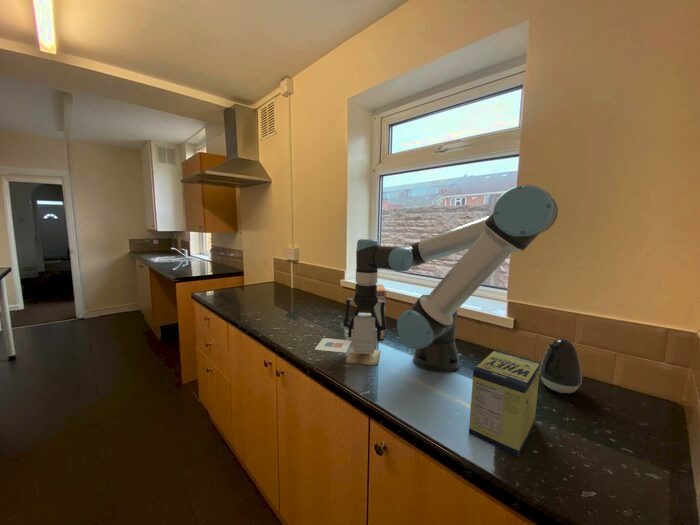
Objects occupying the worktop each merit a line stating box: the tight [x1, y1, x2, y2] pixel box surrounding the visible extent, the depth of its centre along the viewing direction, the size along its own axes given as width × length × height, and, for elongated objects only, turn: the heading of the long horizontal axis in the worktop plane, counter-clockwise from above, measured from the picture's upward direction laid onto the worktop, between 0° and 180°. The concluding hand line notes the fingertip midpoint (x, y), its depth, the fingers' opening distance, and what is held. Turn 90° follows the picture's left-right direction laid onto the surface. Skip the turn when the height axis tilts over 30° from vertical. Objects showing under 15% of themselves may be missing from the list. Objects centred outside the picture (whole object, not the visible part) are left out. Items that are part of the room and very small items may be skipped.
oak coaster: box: [345, 347, 382, 366], centre depth 107 cm, size 11×11×1 cm
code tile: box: [314, 337, 351, 354], centre depth 117 cm, size 12×12×1 cm
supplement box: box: [353, 312, 375, 354], centre depth 106 cm, size 7×7×13 cm
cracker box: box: [374, 284, 387, 340], centre depth 130 cm, size 14×6×21 cm, turn 179°
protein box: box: [468, 349, 541, 458], centre depth 69 cm, size 10×16×16 cm
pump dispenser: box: [539, 338, 583, 394], centre depth 88 cm, size 10×10×15 cm
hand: (364, 346), depth 107 cm, fingers closed on supplement box, 8 cm apart
